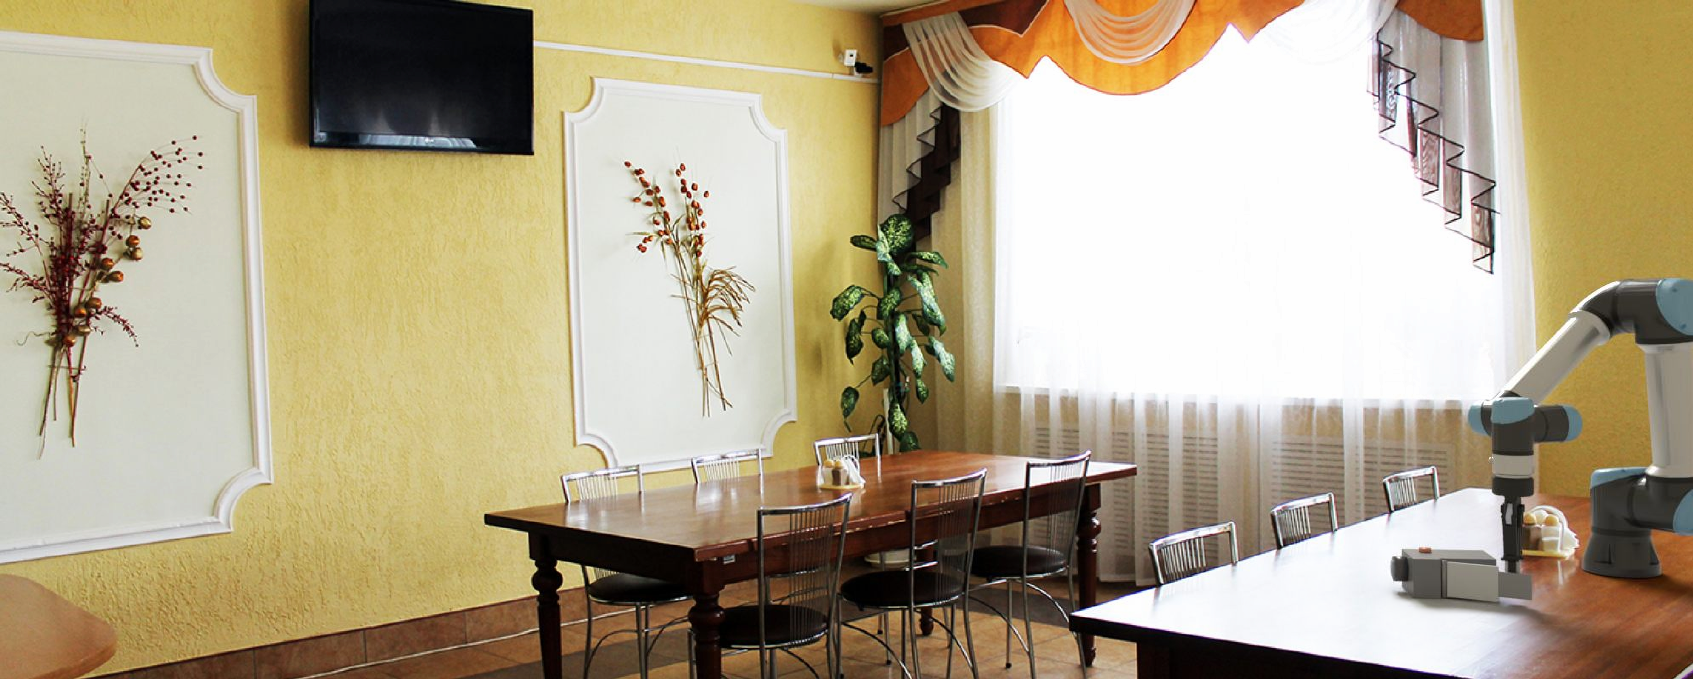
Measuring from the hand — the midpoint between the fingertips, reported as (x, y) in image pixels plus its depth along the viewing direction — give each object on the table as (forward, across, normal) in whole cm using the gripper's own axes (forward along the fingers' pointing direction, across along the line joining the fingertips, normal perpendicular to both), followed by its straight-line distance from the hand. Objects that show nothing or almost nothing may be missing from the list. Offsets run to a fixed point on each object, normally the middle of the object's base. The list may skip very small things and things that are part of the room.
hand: (1512, 592), depth 265 cm
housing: (+2, -3, -14) cm, 14 cm away
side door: (+2, +2, -5) cm, 5 cm away
